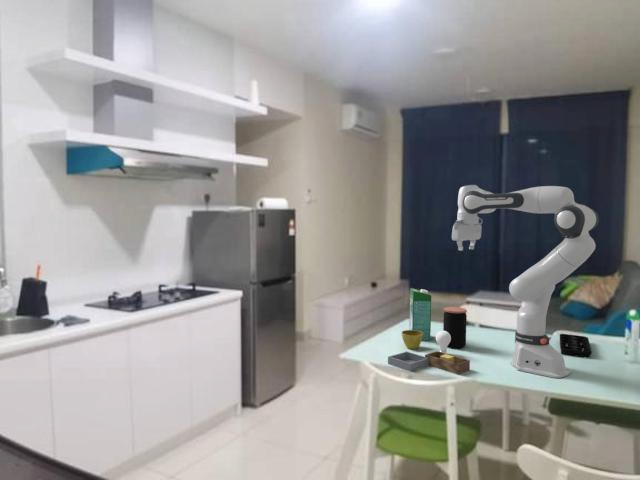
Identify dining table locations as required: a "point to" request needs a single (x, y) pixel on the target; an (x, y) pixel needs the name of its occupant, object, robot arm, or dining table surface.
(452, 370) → the box
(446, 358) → the block
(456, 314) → the coffee jar
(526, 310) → the robot arm
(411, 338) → the flower pot
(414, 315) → the milk carton
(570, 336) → the egg carton
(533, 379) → the dining table surface
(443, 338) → the light bulb
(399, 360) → the tub
